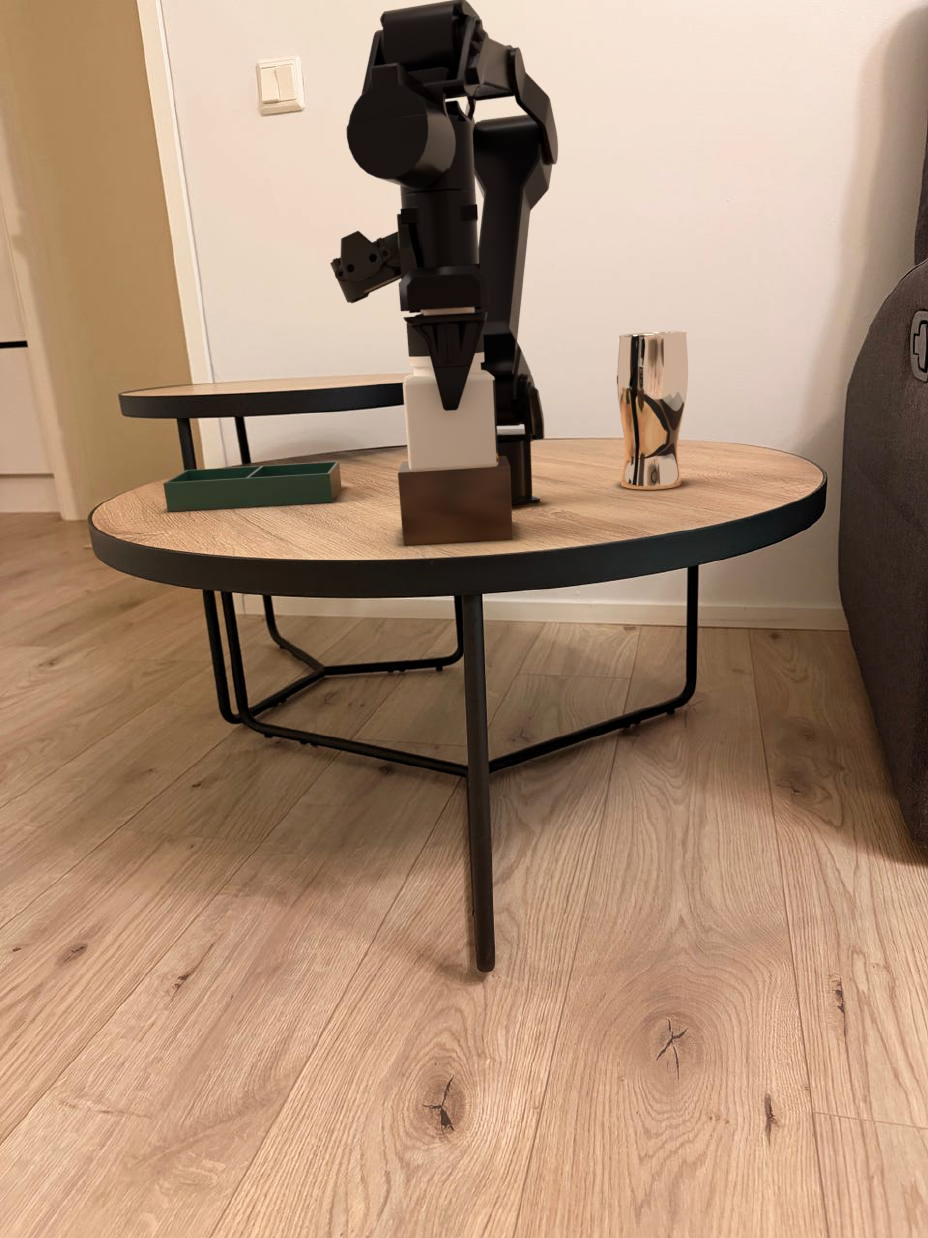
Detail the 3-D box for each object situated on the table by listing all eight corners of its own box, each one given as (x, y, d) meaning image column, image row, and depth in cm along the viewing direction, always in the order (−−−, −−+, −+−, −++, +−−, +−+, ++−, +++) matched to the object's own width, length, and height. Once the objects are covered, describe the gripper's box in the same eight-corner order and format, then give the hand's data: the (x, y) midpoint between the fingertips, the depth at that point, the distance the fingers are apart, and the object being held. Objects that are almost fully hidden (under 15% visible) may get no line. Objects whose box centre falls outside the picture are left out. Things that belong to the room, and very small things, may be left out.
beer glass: (609, 481, 98) (608, 334, 93) (672, 476, 99) (675, 330, 94) (627, 492, 91) (627, 335, 87) (695, 487, 92) (699, 331, 87)
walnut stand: (508, 523, 81) (506, 455, 79) (512, 539, 75) (510, 466, 73) (407, 529, 81) (401, 461, 79) (403, 545, 75) (397, 472, 73)
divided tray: (341, 487, 104) (339, 461, 103) (332, 502, 96) (329, 473, 95) (189, 496, 104) (185, 470, 103) (167, 511, 96) (163, 483, 95)
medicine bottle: (498, 467, 73) (492, 308, 69) (409, 473, 73) (397, 313, 69) (492, 454, 80) (485, 309, 76) (410, 460, 80) (399, 314, 76)
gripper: (345, 215, 79) (362, 401, 84) (315, 184, 61) (338, 423, 66) (475, 207, 79) (484, 394, 84) (483, 174, 61) (493, 413, 66)
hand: (450, 405), depth 75 cm, fingers open, 9 cm apart
